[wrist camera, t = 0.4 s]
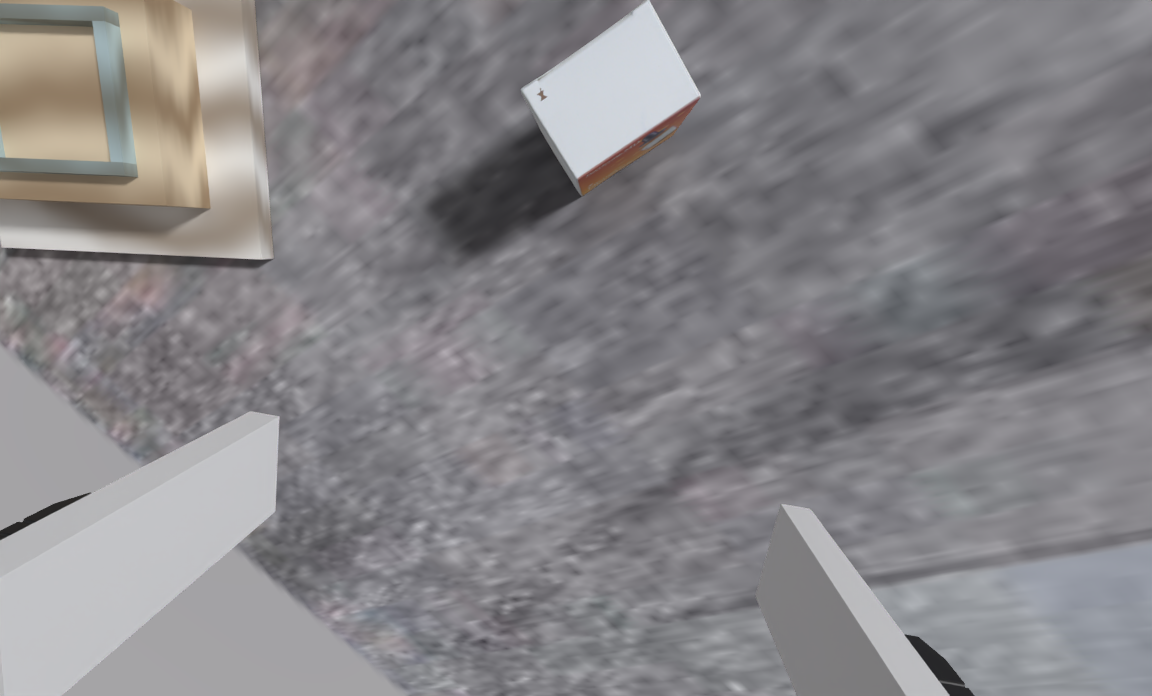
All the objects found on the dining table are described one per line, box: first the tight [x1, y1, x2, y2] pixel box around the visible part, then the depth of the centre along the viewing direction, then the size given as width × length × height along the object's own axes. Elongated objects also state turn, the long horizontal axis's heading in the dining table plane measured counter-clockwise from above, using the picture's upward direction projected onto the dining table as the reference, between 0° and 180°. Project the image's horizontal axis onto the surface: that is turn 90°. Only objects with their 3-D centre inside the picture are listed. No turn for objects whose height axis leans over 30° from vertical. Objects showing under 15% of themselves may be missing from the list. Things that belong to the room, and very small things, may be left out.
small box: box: [521, 0, 701, 196], centre depth 33 cm, size 8×6×10 cm
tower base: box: [0, 0, 274, 260], centre depth 36 cm, size 20×20×6 cm
